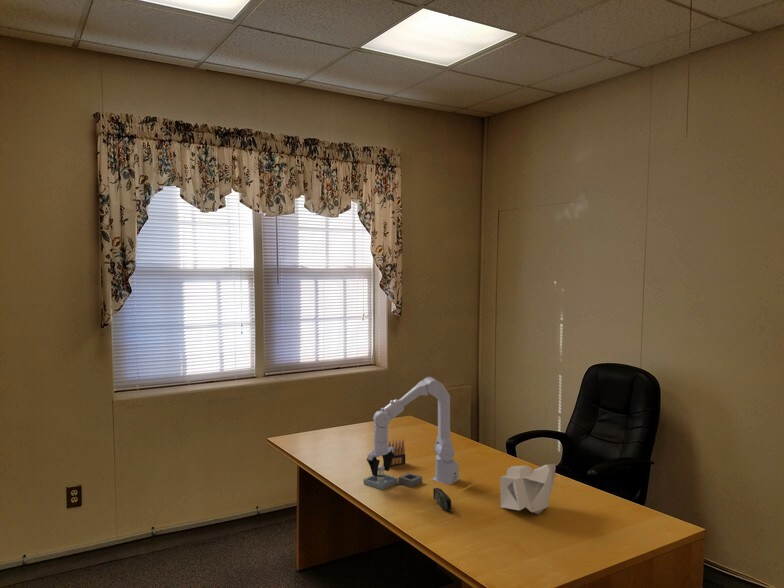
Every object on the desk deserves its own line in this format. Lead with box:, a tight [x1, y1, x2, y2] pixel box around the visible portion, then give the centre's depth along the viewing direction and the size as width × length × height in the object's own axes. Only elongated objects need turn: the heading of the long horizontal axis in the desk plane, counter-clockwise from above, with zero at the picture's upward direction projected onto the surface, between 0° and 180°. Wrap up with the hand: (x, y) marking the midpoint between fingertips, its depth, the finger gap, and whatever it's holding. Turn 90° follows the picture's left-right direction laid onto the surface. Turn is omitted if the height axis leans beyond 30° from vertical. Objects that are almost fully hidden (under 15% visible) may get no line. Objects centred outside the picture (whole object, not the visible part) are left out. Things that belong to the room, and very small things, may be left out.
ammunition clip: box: [382, 438, 406, 468], centre depth 264 cm, size 11×2×12 cm, turn 119°
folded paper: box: [499, 463, 557, 516], centre depth 218 cm, size 17×24×17 cm
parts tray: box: [363, 473, 399, 491], centre depth 241 cm, size 10×10×2 cm
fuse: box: [377, 464, 385, 484], centre depth 241 cm, size 3×3×7 cm
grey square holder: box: [398, 472, 423, 488], centre depth 242 cm, size 7×7×3 cm
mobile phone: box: [432, 487, 454, 514], centre depth 220 cm, size 5×3×15 cm
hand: (380, 472), depth 241 cm, fingers open, 7 cm apart
